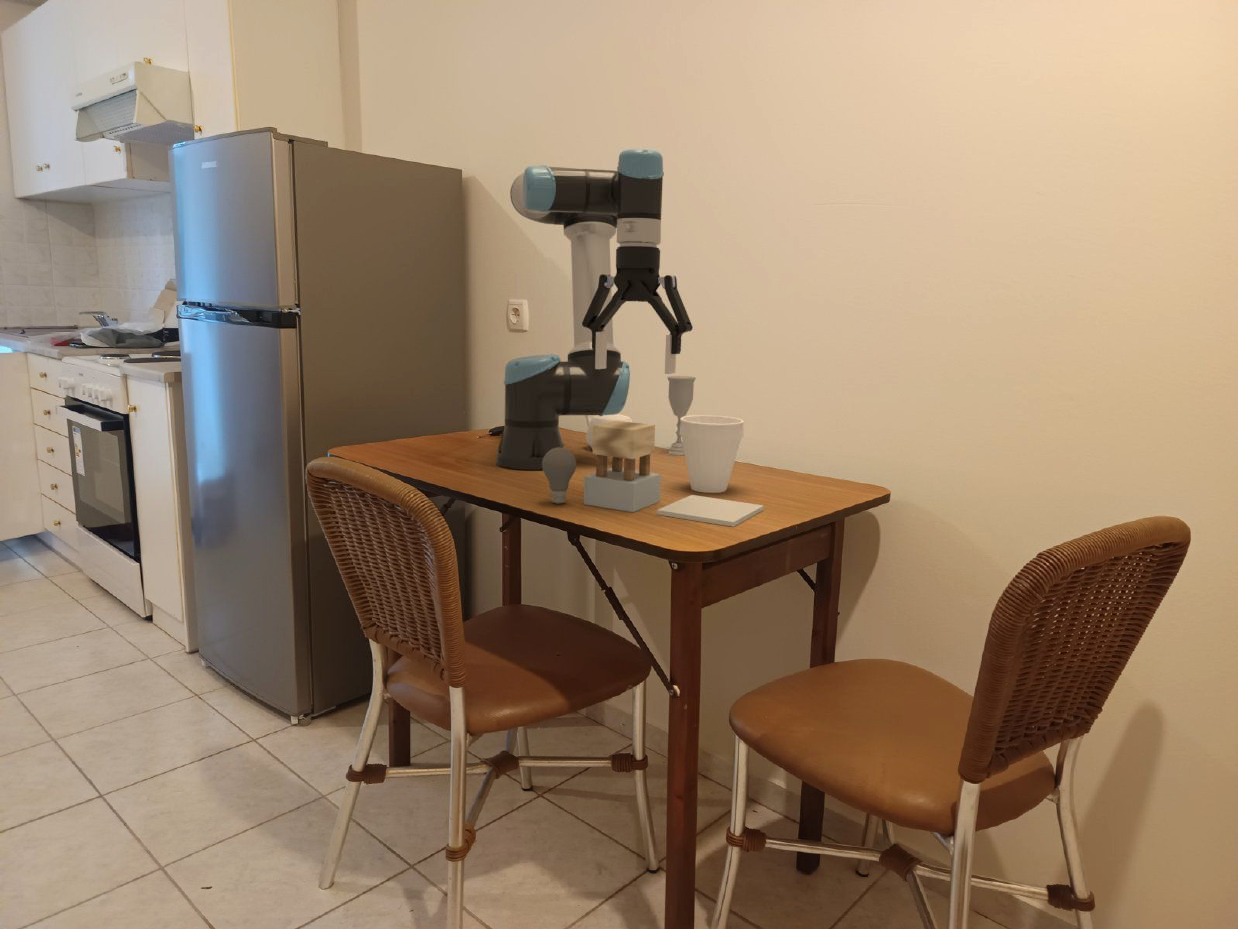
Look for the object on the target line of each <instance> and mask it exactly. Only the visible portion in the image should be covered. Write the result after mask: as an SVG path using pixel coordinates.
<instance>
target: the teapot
mask: <svg viewBox="0 0 1238 929" xmlns="http://www.w3.org/2000/svg"><path fill="white" fill-rule="evenodd" d="M590 416H591V415H584V417H585V420H586V424H587V431H586V434H585V440H586V443H587V445H589V446H590V448H591V449H592V450H593V426H595V425H599V424H604V423H608V422H613V421H623V422H632V423H634V422H633V420H632V418H631V417H630V416H628V415H623V414H621V413H618V414H615V415H603V416H599V415H593V417H592V418H591V417H590Z"/></svg>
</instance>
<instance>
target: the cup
mask: <svg viewBox="0 0 1238 929" xmlns="http://www.w3.org/2000/svg"><path fill="white" fill-rule="evenodd" d="M680 421H681V424H680V433H679V434H680V435H681V441H682V443H683V447H684V452H685V455H684V456H685V462H686V469H687V472H688V479H689V483H690V488H691V490H692V491H695V492H699V493H707V494H715V493H717V494H718V493H723V492H726V491H727V488H728V485H729V482H730V478H731V475H732V471H733V469H734V464H735V461H736V457H737V455H738V454H737V453H738V451H739V446H740V444H741V440H742V438H744V423H745V422H744V420H743V419H741V418H738V417H733V416H725V415H717V414H716V415H714V414H713V415H711V414H710V415H709V414H694V415H685V416H683V417H681V418H680Z"/></svg>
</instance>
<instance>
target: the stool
mask: <svg viewBox="0 0 1238 929" xmlns="http://www.w3.org/2000/svg"><path fill="white" fill-rule="evenodd" d="M632 422H633V421H632ZM632 422H623V421H613V422H608V423H604V424H599V425H595V426H593V449H592V454H593V455H596V459H595V461H596V464H595V465H596V466H595V473H596V476H598V477H605V476H607V469H608V457H612V458H611V460H612V462H611V468H612V471H614V472H620V471H622V469H624V480H626V481H633V480H635V471H636V459H638V458H639V459H638V460H639V466H638V468H639V469H638V471H639V475H643V476H647V475H650V473H651V454H654V453H655V440H656V438H655V435H656V425H655V424H649V423H642V422H633V423H632Z"/></svg>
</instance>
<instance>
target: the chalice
mask: <svg viewBox="0 0 1238 929" xmlns="http://www.w3.org/2000/svg"><path fill="white" fill-rule="evenodd" d="M666 378H667V380H668V401H669V406H670V408H671V410H672V413H673V415H674V416H676V417H677V424H676V427H677V431H676V432H675V434H676V436H677V438H676V441H675V442H672V443H671V445H670V447H669V450H668V452H667V454H669V455H675V456H677V455H678V456H685V452H684V447H683V442H682V436H681V435H680V434H679V433H680V424H681V421H680V418H681V417H684V416H687V414H688V411H689V410H690V408H691V405H692V402H693V400H694V385H695V381H696V379H697V377H695V376H688V375H687V376H686V375H668V376H667V377H666Z"/></svg>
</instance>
